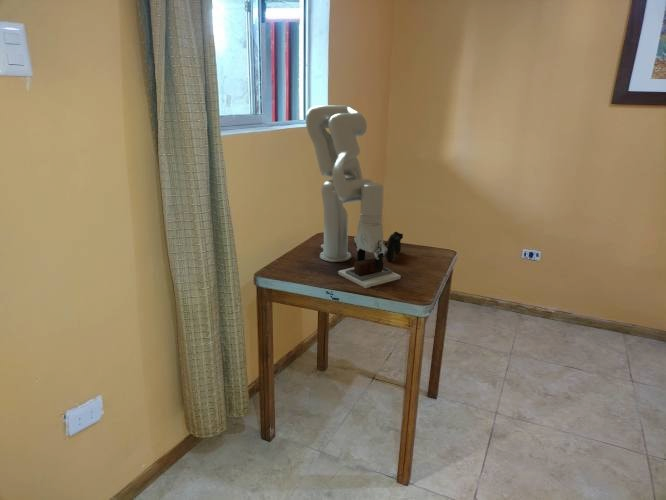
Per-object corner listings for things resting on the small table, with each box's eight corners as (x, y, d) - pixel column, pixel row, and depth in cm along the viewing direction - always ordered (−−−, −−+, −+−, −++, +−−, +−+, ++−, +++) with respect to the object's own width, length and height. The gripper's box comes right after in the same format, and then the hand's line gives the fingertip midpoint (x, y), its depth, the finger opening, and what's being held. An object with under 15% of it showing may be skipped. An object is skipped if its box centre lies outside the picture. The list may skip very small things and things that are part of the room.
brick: (360, 277, 161) (361, 264, 160) (353, 274, 164) (354, 261, 163) (383, 271, 167) (384, 259, 166) (376, 268, 170) (377, 256, 169)
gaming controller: (389, 251, 194) (391, 228, 191) (403, 252, 192) (405, 229, 189) (380, 261, 182) (381, 236, 179) (395, 263, 180) (396, 238, 177)
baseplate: (338, 273, 168) (338, 268, 167) (372, 265, 176) (372, 260, 176) (365, 288, 155) (365, 282, 155) (400, 278, 164) (400, 272, 163)
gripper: (347, 215, 164) (346, 260, 169) (378, 225, 150) (376, 274, 156) (364, 212, 168) (362, 256, 173) (395, 222, 155) (393, 270, 160)
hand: (369, 265), depth 165 cm, fingers open, 9 cm apart
